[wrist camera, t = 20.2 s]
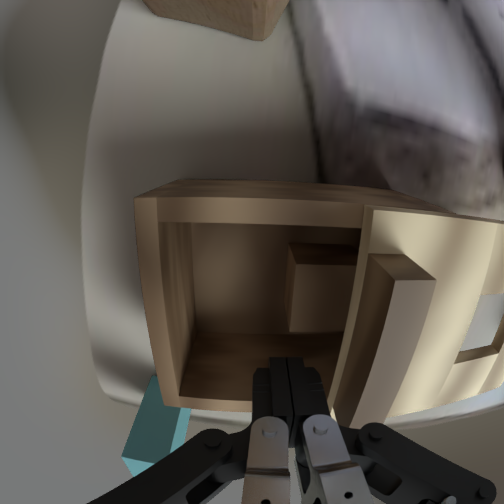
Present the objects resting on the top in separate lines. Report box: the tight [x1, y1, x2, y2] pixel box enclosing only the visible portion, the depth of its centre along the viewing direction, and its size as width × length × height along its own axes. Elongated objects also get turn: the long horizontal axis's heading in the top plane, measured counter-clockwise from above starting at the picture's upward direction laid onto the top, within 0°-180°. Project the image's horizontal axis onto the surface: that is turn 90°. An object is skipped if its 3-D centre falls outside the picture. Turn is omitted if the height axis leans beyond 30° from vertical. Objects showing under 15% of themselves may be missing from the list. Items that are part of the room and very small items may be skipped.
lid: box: [327, 205, 504, 429], centre depth 14 cm, size 17×14×4 cm
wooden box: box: [134, 179, 456, 412], centre depth 20 cm, size 17×14×9 cm
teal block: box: [121, 376, 191, 477], centre depth 24 cm, size 4×4×11 cm
